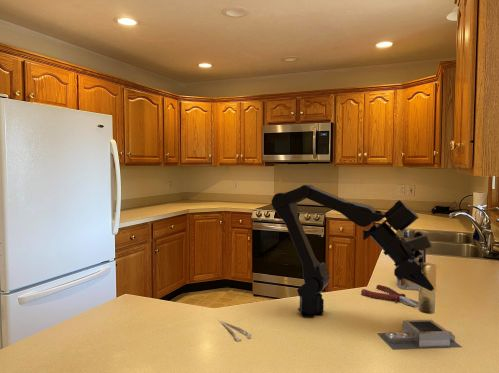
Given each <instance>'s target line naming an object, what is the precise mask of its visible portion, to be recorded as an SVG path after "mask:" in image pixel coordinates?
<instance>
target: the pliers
mask: <svg viewBox="0 0 499 373" xmlns="http://www.w3.org/2000/svg"><path fill="white" fill-rule="evenodd" d="M375 289H376V290H377V289H378V290H377V291H380V290H381V292H376V291H371V290H368V289H365V288H363V289H361V292H360V294H361V295H362V296H364V297H366V296H367V298H369V297H370V298H369V299H373V298H374V300H380V301H388V302H394V304H398V303H401V304H404V305H407V306H410V307H411V306H412V307H416V308H418V302H419V301H417V300H414V299H412V298H409V297H407V296H406V294H405V293H399V292H398V291H396V290H394V289H392V288H391V287H388V286H385V285H382V284H377V285H376V288H375ZM383 291H384V293H383ZM386 292H387V293H386ZM388 293H389V294H388Z"/></svg>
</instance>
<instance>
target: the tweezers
mask: <svg viewBox="0 0 499 373" xmlns="http://www.w3.org/2000/svg"><path fill="white" fill-rule="evenodd" d="M217 321H218V322H219V323H220V324H221V325H223V327H224V328H225V329H226V330H227V331H228V332H229V333H230V334H231V335H232V336H233V338H234V340H235V341H236V342H242V338H239V337H238V336H237V335H236V333H235V332H234V331H233V330H232V329H234V330H235V331H236V332H238V333H240V334H241V335H244V336H246V337H247V340H250V339H252V334H251V333H249V332H248V331H246V330H245V329H243V328H242V327H238V326H236V325H233V324H229V323H227V322H225V321H223V320H217ZM231 328H232V329H231Z"/></svg>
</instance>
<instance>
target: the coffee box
mask: <svg viewBox="0 0 499 373" xmlns="http://www.w3.org/2000/svg"><path fill="white" fill-rule="evenodd" d="M421 251H422V252H423V254H422V255H419V256H418V257H416V258H418V259H420V258H421V257H422V256H423V257H424V258H423V263H427V262H426V261H427V260H426V258H427V256H426V255H427V249H421ZM395 284H396V286H398V288H399V289H400V290H412V291H413V290H415V291H416V290H418V291H419V285H417V284H415V283H413V282H411V281H409V280H406V279H401V280H399V279H398V278H397V277H396V283H395Z"/></svg>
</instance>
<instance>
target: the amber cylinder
mask: <svg viewBox="0 0 499 373" xmlns="http://www.w3.org/2000/svg"><path fill="white" fill-rule="evenodd" d="M422 271H423V273H424V274H425V276H426V277H427V278H428V280H429V281H430V283H431V284H432V286H433V287H434V289H433V290H432V291H430V290H428V289H426V288H424V287H422V286H419V290H418V301H417V302H418V307H417V308H418V311H419V313H422V314H427V315H434V314H435V313H436V295H437V294H436V291H437V290H436V289H437V286H436V285H437V264H434V263H432V262H431V263H429V262H426V263H422Z"/></svg>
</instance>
